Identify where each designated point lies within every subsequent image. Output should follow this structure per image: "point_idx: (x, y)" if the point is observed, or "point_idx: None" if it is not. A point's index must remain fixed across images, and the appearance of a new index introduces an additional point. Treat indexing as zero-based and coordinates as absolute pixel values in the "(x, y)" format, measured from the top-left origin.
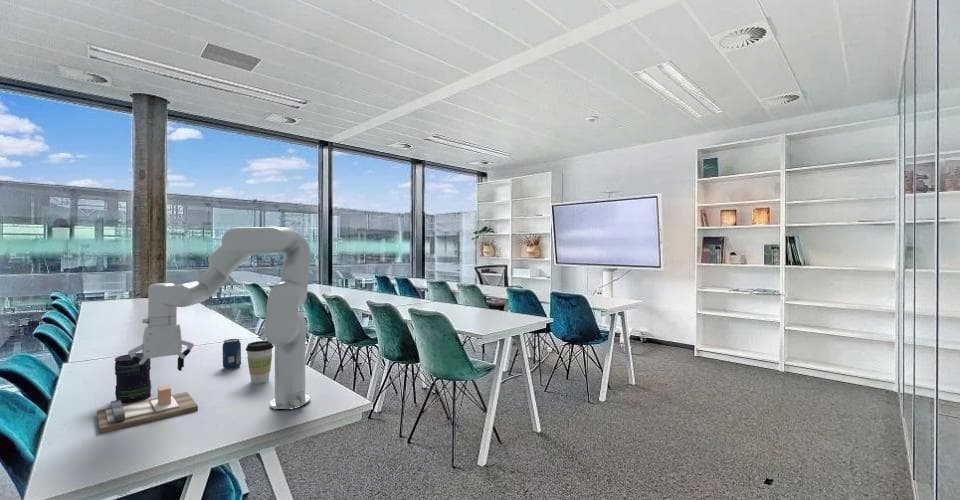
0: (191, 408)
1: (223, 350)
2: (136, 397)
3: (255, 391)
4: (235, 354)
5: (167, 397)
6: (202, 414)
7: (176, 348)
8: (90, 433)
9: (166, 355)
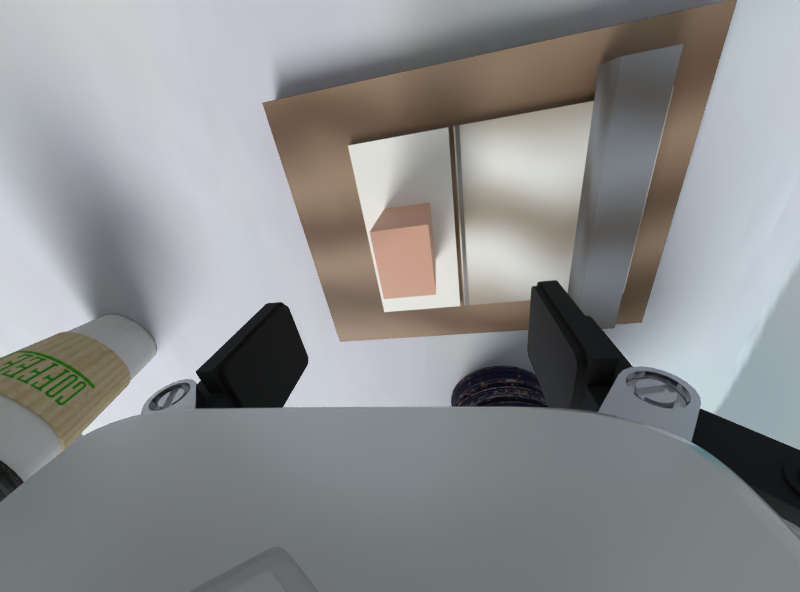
0: (292, 97)
1: None
2: (498, 379)
3: (96, 231)
4: None
5: (393, 215)
6: (238, 7)
7: (25, 535)
8: (739, 53)
9: (292, 408)
